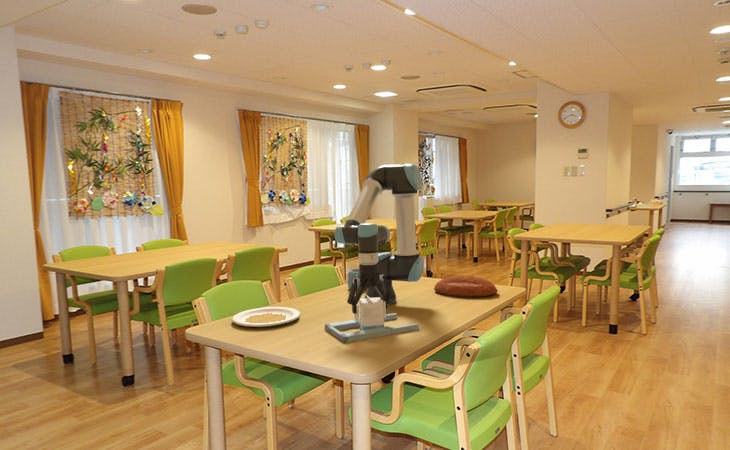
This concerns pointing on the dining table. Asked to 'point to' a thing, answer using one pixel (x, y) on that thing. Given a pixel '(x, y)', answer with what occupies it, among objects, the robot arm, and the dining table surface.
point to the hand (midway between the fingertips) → (370, 319)
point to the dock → (368, 333)
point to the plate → (289, 312)
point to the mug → (353, 274)
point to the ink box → (371, 313)
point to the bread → (465, 286)
